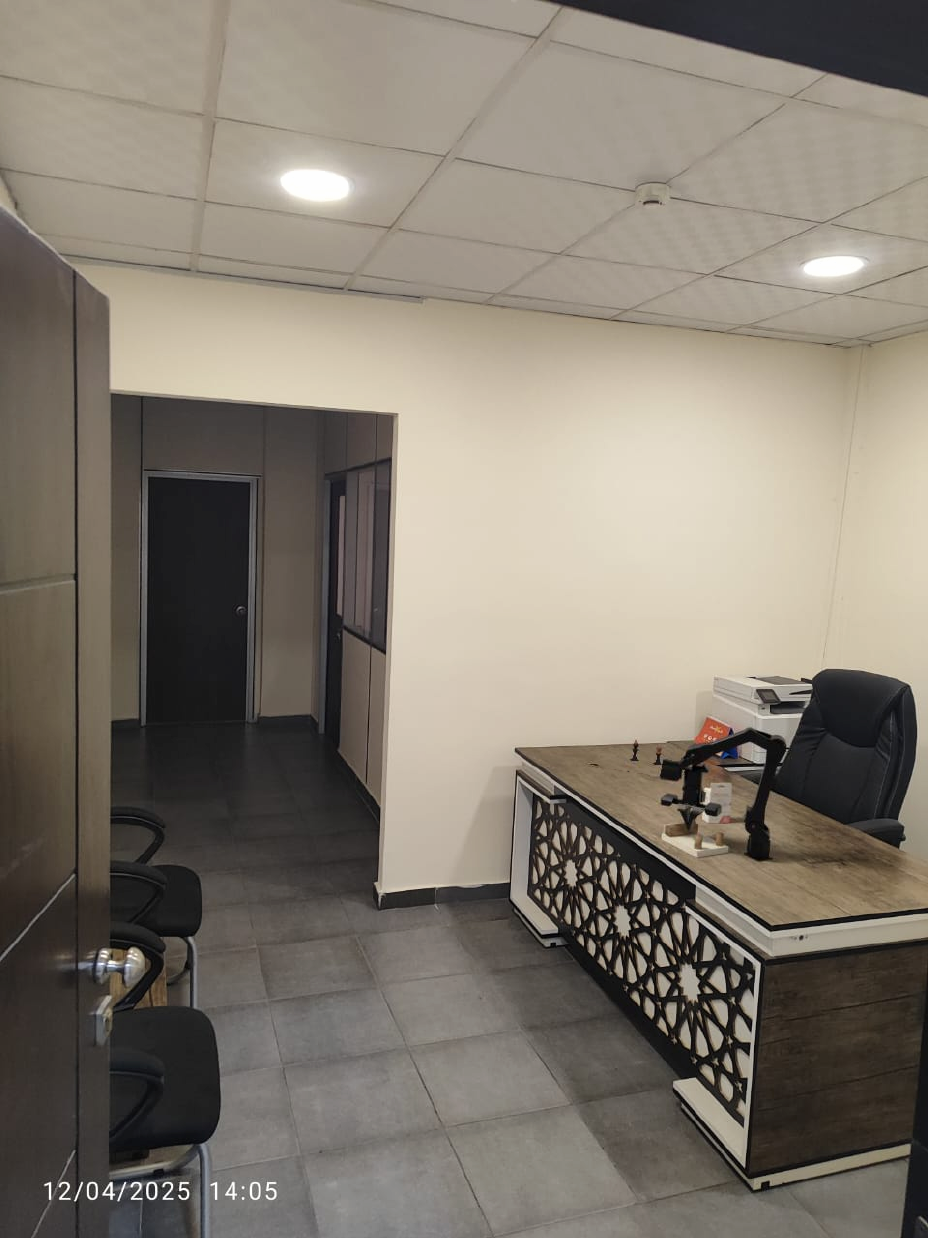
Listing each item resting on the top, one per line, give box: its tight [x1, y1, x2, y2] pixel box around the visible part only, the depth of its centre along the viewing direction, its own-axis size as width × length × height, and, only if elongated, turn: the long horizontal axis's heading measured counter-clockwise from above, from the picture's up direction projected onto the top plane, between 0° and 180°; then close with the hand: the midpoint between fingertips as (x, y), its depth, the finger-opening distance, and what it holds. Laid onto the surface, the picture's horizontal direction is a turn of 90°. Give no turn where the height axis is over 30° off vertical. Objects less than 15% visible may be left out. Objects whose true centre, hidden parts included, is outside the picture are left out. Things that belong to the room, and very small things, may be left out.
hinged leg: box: [665, 820, 699, 837], centre depth 284 cm, size 12×2×4 cm, turn 115°
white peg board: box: [661, 822, 729, 858], centre depth 280 cm, size 17×13×6 cm
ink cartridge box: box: [701, 782, 733, 824], centre depth 306 cm, size 9×5×15 cm, turn 101°
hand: (688, 830), depth 279 cm, fingers closed
